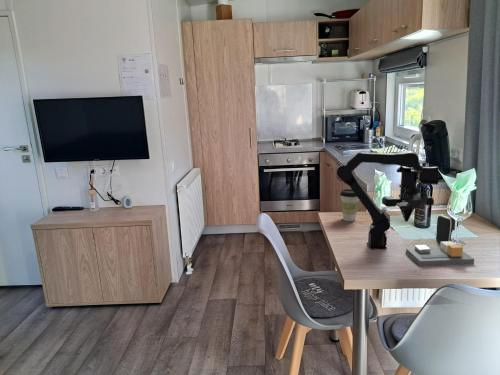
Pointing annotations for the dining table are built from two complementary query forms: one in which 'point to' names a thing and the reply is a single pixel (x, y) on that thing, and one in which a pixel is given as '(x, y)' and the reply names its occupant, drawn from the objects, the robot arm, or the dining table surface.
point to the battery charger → (445, 228)
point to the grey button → (422, 249)
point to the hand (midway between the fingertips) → (406, 221)
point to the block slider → (455, 250)
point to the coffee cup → (349, 204)
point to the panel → (438, 257)
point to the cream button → (445, 245)
